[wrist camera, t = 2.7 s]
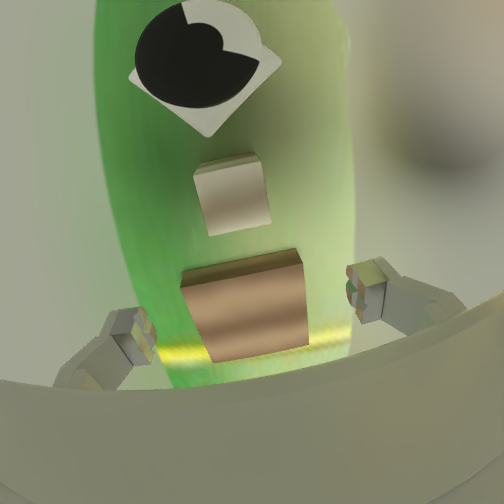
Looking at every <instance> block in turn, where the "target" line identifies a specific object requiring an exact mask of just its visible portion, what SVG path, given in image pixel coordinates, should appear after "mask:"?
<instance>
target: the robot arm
mask: <svg viewBox="0 0 504 504" xmlns="http://www.w3.org/2000/svg"><path fill="white" fill-rule="evenodd" d="M346 275H347V277H348V278H349V280H348V282H347V283H346V292H347V298H348V300H349V303H350V304H351V306H352V307H355V308H356V315H357V317H358V318H359V320H360V322H361V323H362V324H365V323H369V322H373V321H376V320H380V319H381V320H382V321H384V322H386V323H388V324H389V325H391V326H392V327H394V328H396V329H397V330H399V331H401V332H402V333H404V334H405V335H407V337H404V338H401V339H398V340H396V341H393V342H390V343H387V344H385V345H382V346H379V347H376V348H373V349H370V350H367V351H364V352H361V353H358V354H355V355H351V356H348V357H344V358H341V359H337V360H334V361H330V362H326V363H322V364H319V365H315V366H311V367H306V368H302V369H298V370H293V371H289V372H284V373H279V374H274V375H269V376H264V377H259V378H253V379H247V380H241V381H235V382H228V383H221V384H213V385H204V386H195V387H184V388H172V389H155V390H117V388H118V387H119V385H120V384H121V383H122V381H123V380H124V379H125V378H126V376H127V375H128V374H129V372H130V371H131V370H132V369H133V366H140V365H150V364H151V363H152V358H153V354H154V351H153V350H152V347H153V346H154V345H155V344H156V340H157V335H156V330H155V327H154V325H153V323H152V322H151V321H150V320H148V319H147V316H148V313H147V311H146V310H145V308H144V307H142V306H141V307H134V308H126V309H119V310H113V311H111V312H109V315H108V317H107V319H106V321H105V323H104V325H103V328H102V330H101V332H100V334H99V336H98V337H95V338H94V339H93V340H91V341H90V342H89V343H88V344H87V345H86V346H85V347H83V349H81V350H80V351H79V352H78V353H77V354H75V356H73V357H72V358H71V359H70V360H69V361H68V362H67V363H65V364H64V365H63V366H62V367H61V368H60V370H59V372H58V375H57V377H56V379H55V382H54V384H53V387H47V386H38V385H31V384H25V383H18V382H12V381H7V380H0V504H504V290H503V291H501V292H499V293H498V294H496V295H494V296H492V297H490V298H489V299H487V300H485V301H483V302H481V303H479V304H478V305H476V306H474V307H472V308H470V309H467V308H466V307H465V306H464V305H463V303H462V302H461V301H460V300H459V299H458V298H457V297H456V296H455V295H454V294H453V293H451V292H448V291H445V290H443V289H439V288H437V287H434V286H431V285H429V284H426V283H423V282H420V281H417V280H414V279H411V278H409V277H406V276H404V277H401V276H400V275H399V274H398V273H397V271H396V270H395V269H394V268H393V267H392V266H391V265H390V264H389V263H388V262H387V261H386V260H385V259H384V258H383V257H381V256H380V257H377V258H373V259H370V260H367V261H364V262H359V263H356V264H351V265H347V269H346Z"/></svg>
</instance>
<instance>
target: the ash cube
mask: <svg viewBox="0 0 504 504" xmlns="http://www.w3.org/2000/svg"><path fill="white" fill-rule="evenodd" d="M193 178H194V182H195V186H196V190H197V194H198V197H199V201H200V205H201V209H202V212H203V216H204V220H205V223H206V227H207V231H208V234H209V237H210V236H215V235H219V234H224V233H229V232H233V231H238V230H243V229H248V228H252V227H257V226H262V225H267V224H272V222H271V216H270V210H269V204H268V198H267V193H266V187H265V181H264V176H263V170H262V165H261V161H260V159H259V158H258V157H257V155H256V154H255V153H254V152H252V153H247V154H242V155H237V156H232V157H228V158H223V159H218V160H214V161H210V162H205V163H201V164H199V165H198V167H197V169H196V171H195V173H194V175H193Z"/></svg>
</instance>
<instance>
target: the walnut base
mask: <svg viewBox="0 0 504 504" xmlns="http://www.w3.org/2000/svg"><path fill="white" fill-rule="evenodd" d="M180 289H181V292H182V294H183V297H184V299H185V301H186V304H187V306H188V309H189V311H190V313H191V316H192V318H193V320H194V322H195V325H196V327H197V329H198V332H199V334H200V336H201V338H202V340H203V343H204V345H205V347H206V349H207V351H208V353H209V355H210V358H211V360H212V362H213V363H218V362H225V361H231V360H237V359H243V358H249V357H254V356H259V355H265V354H270V353H275V352H279V351H284V350H289V349H293V348H298V347H302V346H306V345H309V335H308V319H307V305H306V293H305V281H304V270H303V263H302V260H301V258H300V256H299V254H298V252H297V250H296V248H295V249H290V250H286V251H281V252H276V253H271V254H266V255H261V256H257V257H252V258H247V259H242V260H237V261H232V262H227V263H223V264H218V265H213V266H208V267H203V268H198V269H193V270H188V271H184V272H183V277H182V281H181V286H180Z"/></svg>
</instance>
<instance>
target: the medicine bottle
mask: <svg viewBox="0 0 504 504" xmlns="http://www.w3.org/2000/svg"><path fill="white" fill-rule="evenodd" d="M281 64H282V60H281V58H280V57H279V56H277V55H276V54H275V53H274V52H273V51H271V50H270V49H269V48H268V47H266V46H265V45H264V44H263V43H262V42H261V37H260V34H259V31H258V29H257V27H256V25H255V23H254V22H253V21H252V19H251V18H250V17H249V16H248V15H247V14H246V13H245V12H243V11H242V10H241V9H239V8H237V7H236V6H234V5H232V4H229V3H226V2H223V1H219V0H189V1H185V2H182V3H179V4H176V5H174V6H172V7H170V8H168V9H166V10H164V11H163V12H161V13H160V14H159V15H157V16H156V17H155V18H154V19H153V20H152V21H151V22H150V23H149V24H148V25H147V27H146V28H145V30H144V31H143V33H142V34H141V36H140V39H139V41H138V44H137V47H136V52H135V66H136V67H135V69H134V70H133V71H132V72H131V74H130V75H129V80H130V81H131V82H132V83H133V84H135V85H136V86H138V87H139V88H141V89H142V90H143V91H145V92H146V93H148V94H149V95H150V96H152V97H153V98H155V99H156V100H157V101H159V102H160V103H161V104H163V105H164V106H166V107H167V108H168V109H170V110H171V111H172V112H174V113H175V114H176V115H178V116H179V117H180V118H181V119H183V120H184V121H185V122H187V123H188V124H189V125H191V126H192V127H193V128H194V129H196V130H197V131H198V132H200V133H201V134H202V135H203V136H205V137H211V136H212V135H213V134H214V133H215V132H216V131H217V130H218V128H219V127H220V126H221V125H222V124H223V123H224V122H225V121H226V120H227V119H228V117H229V116H230V115H231V114H232V113H233V112H234V111H235V110H236V109H237V108H238V107H239V106H240V105H241V104H242V103H243V102H244V101H245V100H246V99H247V98H248V97H249V96H250V95H251V94H252V93H253V92H254V91H255V90H256V89H257V88H258V87H259V86H260V85H261V84H262V83H263V82H264V81H265V80H266V79H267V78H268V77H269V76H270V75H271V74H272V73H273V72H274V71H275V70H277V69H278V68H279V67H280V66H281Z"/></svg>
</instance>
